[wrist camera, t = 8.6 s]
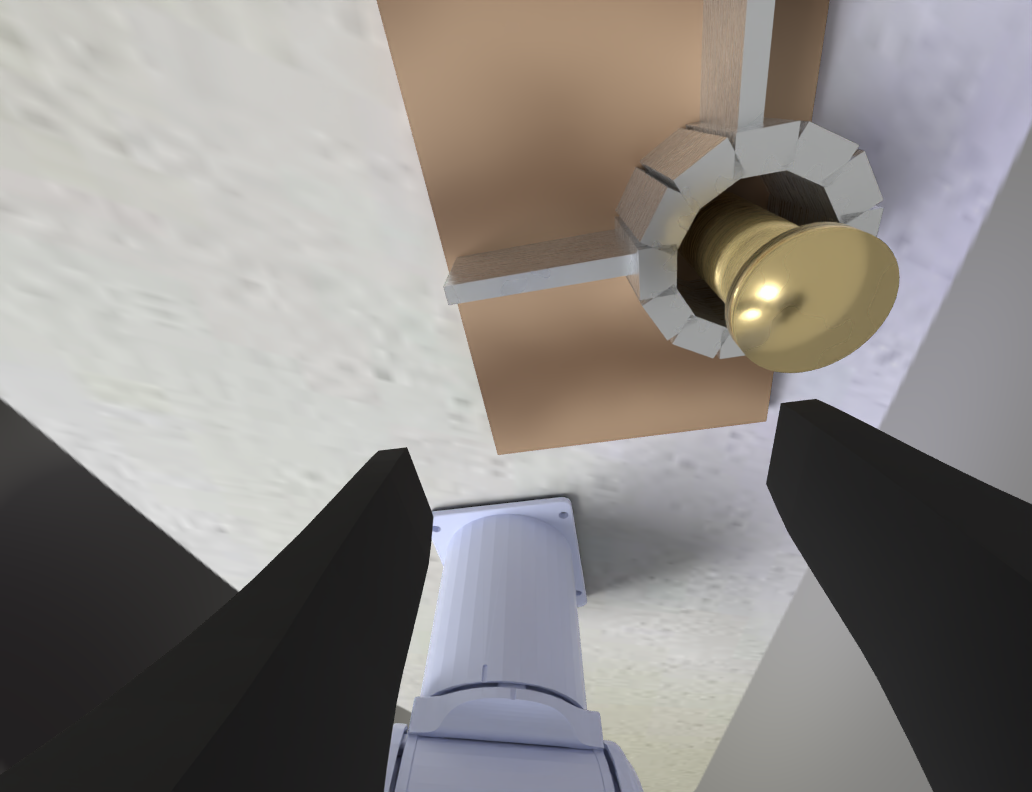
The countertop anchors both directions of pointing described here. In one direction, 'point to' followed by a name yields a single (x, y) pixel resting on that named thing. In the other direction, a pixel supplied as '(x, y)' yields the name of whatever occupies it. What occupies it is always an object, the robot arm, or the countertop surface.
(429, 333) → the countertop surface
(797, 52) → the walnut board
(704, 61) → the grey winged collar
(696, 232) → the brass cabinet knob
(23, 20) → the countertop surface
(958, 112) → the countertop surface
